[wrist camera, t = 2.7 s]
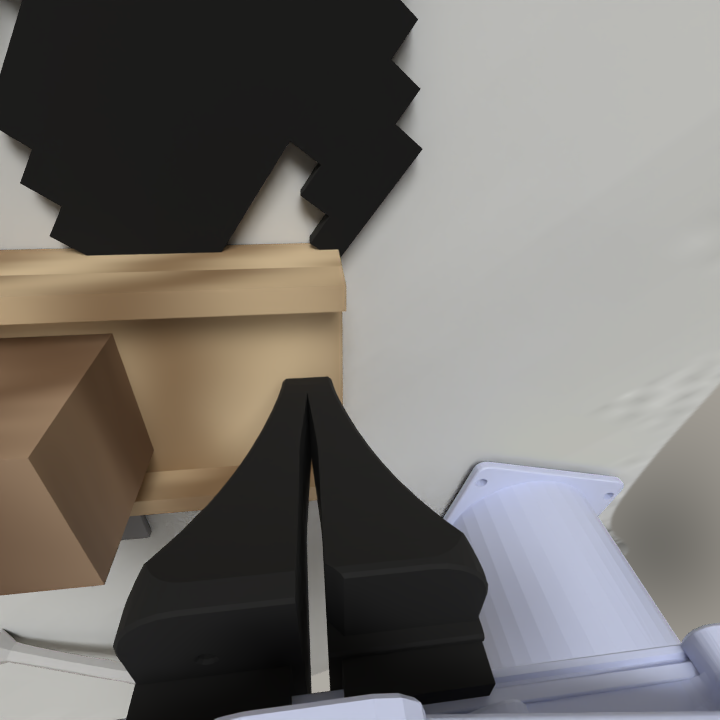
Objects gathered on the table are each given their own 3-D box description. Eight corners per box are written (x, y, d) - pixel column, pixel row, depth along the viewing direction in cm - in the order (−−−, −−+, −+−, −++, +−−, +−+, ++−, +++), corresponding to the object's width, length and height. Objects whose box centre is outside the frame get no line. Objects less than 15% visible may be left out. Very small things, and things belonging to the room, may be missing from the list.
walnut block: (112, 333, 12) (27, 457, 8) (154, 449, 14) (104, 584, 11) (-71, 340, 11) (-250, 477, 8) (7, 460, 14) (-99, 605, 10)
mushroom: (-60, 699, 18) (218, 746, 21) (15, 582, 22) (246, 635, 24) (-26, 710, 23) (197, 748, 26) (31, 613, 26) (223, 654, 29)
